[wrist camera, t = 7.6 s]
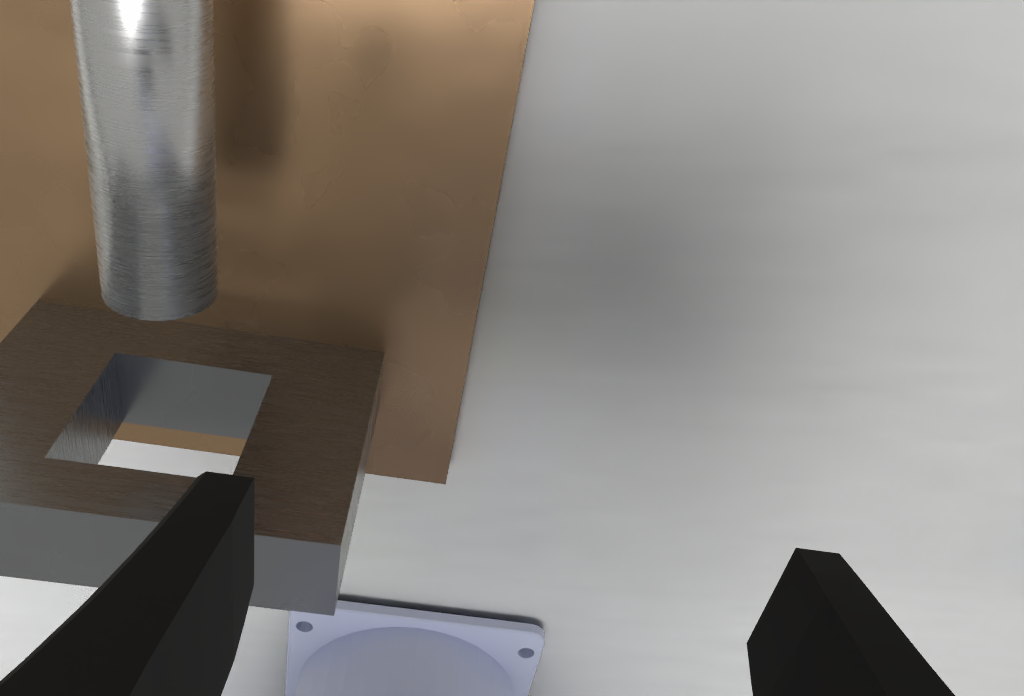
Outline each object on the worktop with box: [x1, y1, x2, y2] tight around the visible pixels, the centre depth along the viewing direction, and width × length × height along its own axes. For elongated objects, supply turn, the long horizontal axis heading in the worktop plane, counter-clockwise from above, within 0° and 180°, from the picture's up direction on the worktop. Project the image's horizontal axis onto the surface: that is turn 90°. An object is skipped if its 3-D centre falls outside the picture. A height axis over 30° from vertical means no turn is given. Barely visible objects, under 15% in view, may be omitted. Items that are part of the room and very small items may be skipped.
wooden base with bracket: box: [0, 0, 535, 616], centre depth 15 cm, size 18×12×7 cm, turn 170°
